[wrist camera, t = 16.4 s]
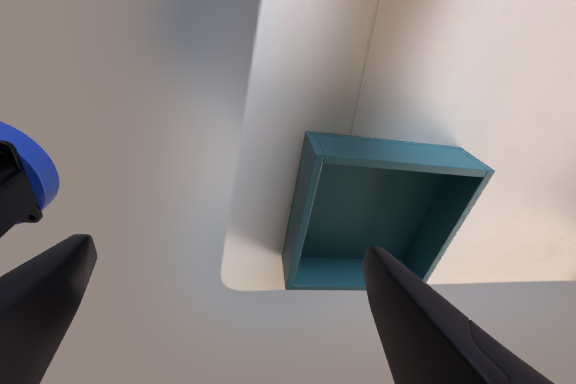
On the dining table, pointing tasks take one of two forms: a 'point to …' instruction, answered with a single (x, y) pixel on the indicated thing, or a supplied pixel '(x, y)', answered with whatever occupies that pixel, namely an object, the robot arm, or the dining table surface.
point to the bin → (375, 207)
